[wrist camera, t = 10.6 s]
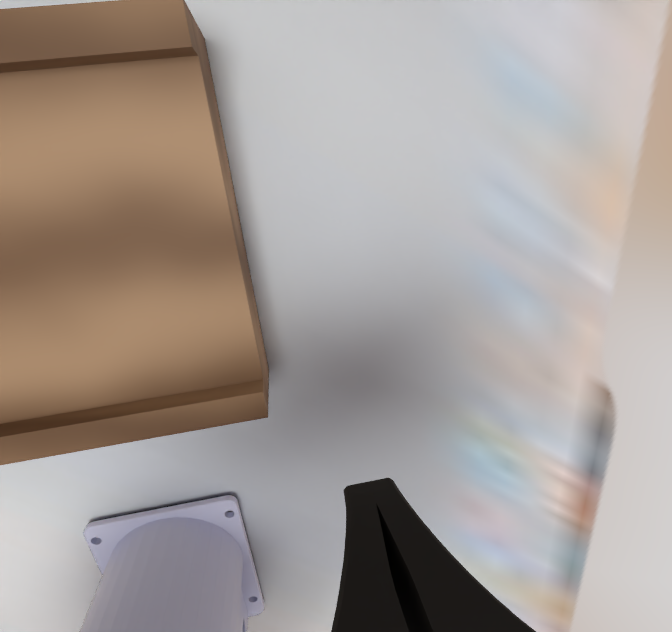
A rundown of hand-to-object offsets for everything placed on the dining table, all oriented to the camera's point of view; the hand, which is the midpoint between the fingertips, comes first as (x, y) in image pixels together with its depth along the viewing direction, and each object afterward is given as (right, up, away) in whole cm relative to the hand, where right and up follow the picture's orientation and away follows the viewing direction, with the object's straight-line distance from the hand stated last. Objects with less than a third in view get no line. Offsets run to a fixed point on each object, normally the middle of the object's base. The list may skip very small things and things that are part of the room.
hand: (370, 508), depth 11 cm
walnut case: (-13, +8, +5) cm, 16 cm away
